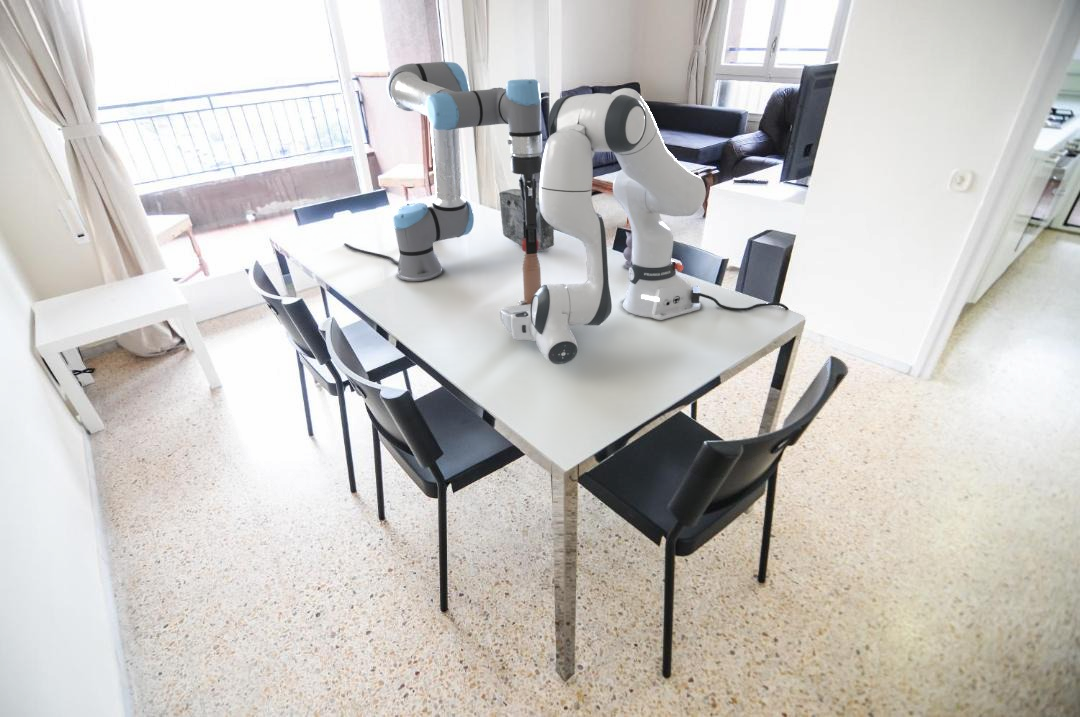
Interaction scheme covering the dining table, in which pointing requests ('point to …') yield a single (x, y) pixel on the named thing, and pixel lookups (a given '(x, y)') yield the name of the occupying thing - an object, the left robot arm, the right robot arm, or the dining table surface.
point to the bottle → (531, 276)
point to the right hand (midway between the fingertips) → (532, 301)
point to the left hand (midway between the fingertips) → (530, 249)
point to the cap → (525, 245)
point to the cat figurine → (628, 250)
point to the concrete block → (514, 220)
